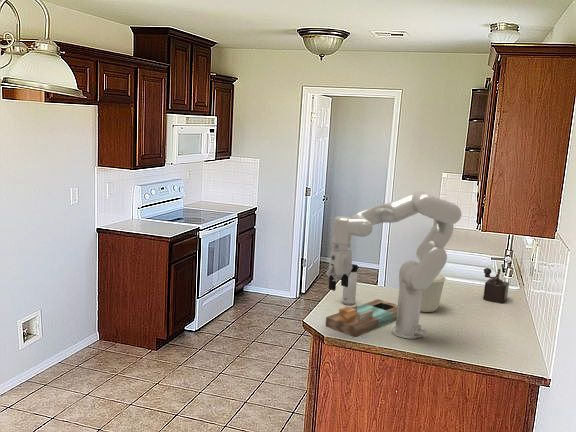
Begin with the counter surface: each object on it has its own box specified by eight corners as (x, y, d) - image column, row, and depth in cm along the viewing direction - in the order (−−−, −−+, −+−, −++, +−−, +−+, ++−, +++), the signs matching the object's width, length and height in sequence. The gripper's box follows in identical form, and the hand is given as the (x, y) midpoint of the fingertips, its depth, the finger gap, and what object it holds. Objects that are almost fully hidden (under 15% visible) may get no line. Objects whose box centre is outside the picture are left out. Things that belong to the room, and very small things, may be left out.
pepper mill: (486, 294, 306) (489, 262, 303) (507, 299, 300) (511, 266, 297) (478, 302, 293) (482, 268, 290) (501, 306, 287) (505, 272, 284)
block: (354, 320, 245) (355, 309, 244) (347, 323, 241) (348, 312, 240) (345, 317, 248) (346, 306, 247) (338, 319, 244) (339, 308, 244)
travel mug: (345, 305, 275) (348, 265, 272) (340, 301, 282) (343, 262, 278) (357, 305, 277) (360, 265, 273) (352, 301, 283) (355, 262, 280)
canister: (449, 314, 272) (454, 271, 268) (416, 316, 266) (420, 272, 262) (429, 301, 289) (433, 261, 285) (397, 303, 283) (401, 262, 279)
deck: (405, 316, 266) (407, 301, 264) (355, 336, 237) (356, 320, 236) (377, 306, 276) (378, 293, 275) (325, 325, 248) (326, 310, 246)
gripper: (335, 251, 224) (332, 294, 228) (361, 245, 237) (358, 286, 240) (320, 247, 229) (317, 289, 233) (346, 242, 242) (343, 282, 245)
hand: (338, 287), depth 236 cm, fingers open, 7 cm apart
